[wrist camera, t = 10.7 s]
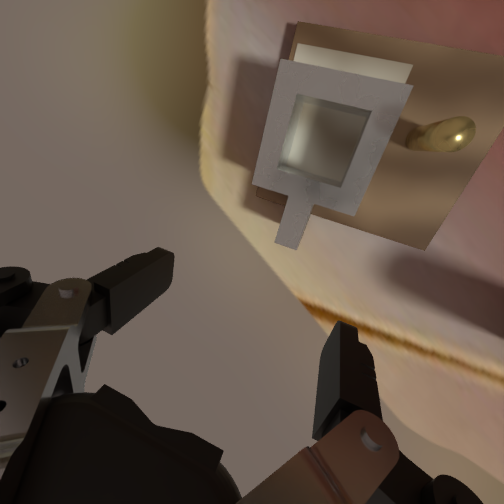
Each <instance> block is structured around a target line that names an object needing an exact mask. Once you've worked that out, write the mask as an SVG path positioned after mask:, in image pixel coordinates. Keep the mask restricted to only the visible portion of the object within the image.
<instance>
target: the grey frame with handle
mask: <svg viewBox="0 0 504 504" xmlns="http://www.w3.org/2000/svg"><path fill="white" fill-rule="evenodd" d="M413 86H414V85H409V84H404V83H399V82H394V81H389V80H384V79H379V78H374V77H369V76H364V75H359V74H354V73H350V72H345V71H340V70H335V69H330V68H325V67H320V66H315V65H310V64H305V63H300V62H295V61H290V60H286V59H280V63H279V68H278V72H277V76H276V81H275V85H274V89H273V94H272V98H271V102H270V107H269V111H268V115H267V120H266V124H265V128H264V133H263V137H262V142H261V146H260V150H259V155H258V159H257V163H256V168H255V172H254V176H253V181H252V184H253V185H256V186H259V187H262V188H265V189H268V190H272V191H275V192H278V193H281V194H284V195H288V196H289V197H288V200H287V203H286V206H285V210H284V213H283V216H282V219H281V223H280V226H279V229H278V232H277V236H276V239H275V243H277V244H280V245H283V246H286V247H289V248H291V249H294V250H297V248H298V246H299V243H300V241H301V239H302V236H303V233H304V231H305V228H306V225H307V222H308V220H309V217H310V214H311V211H312V209H313V206H314V204H316V205H319V206H322V207H326V208H329V209H332V210H335V211H338V212H342V213H345V214H348V215H351V216H355V214H356V212H357V210H358V207H359V205H360V203H361V201H362V199H363V196H364V194H365V192H366V190H367V187H368V185H369V183H370V181H371V179H372V176H373V174H374V172H375V170H376V168H377V165H378V163H379V161H380V159H381V157H382V154H383V152H384V150H385V148H386V146H387V143H388V141H389V139H390V137H391V134H392V132H393V130H394V128H395V126H396V123H397V121H398V119H399V117H400V115H401V112H402V110H403V108H404V106H405V104H406V101H407V99H408V97H409V95H410V92H411V90H412V88H413ZM304 103H308V104H312V105H316V106H321V107H325V108H329V109H333V110H338V111H342V112H346V113H350V114H355V115H359V116H363V117H367V118H366V120H365V123H364V125H363V128H362V130H361V133H360V135H359V138H358V140H357V143H356V145H355V148H354V150H353V153H352V155H351V158H350V160H349V163H348V165H347V168H346V170H345V173H344V175H343V178H342V180H341V182H340V181H336V180H333V179H329V178H326V177H323V176H319V175H316V174H312V173H309V172H305V171H302V170H299V169H295V168H292V167H288V166H286V165H287V161H288V158H289V154H290V151H291V147H292V144H293V140H294V137H295V133H296V129H297V126H298V122H299V119H300V115H301V112H302V108H303V105H304Z"/></svg>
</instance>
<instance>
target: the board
mask: <svg viewBox="0 0 504 504" xmlns="http://www.w3.org/2000/svg"><path fill="white" fill-rule="evenodd" d="M289 60H290V61H295V62H300V63H305V64H310V65H315V66H320V67H325V68H330V69H335V70H340V71H345V72H350V73H354V74H359V75H364V76H369V77H374V78H379V79H384V80H389V81H394V82H399V83H404V84H409V85H414V86H413V88H412V90H411V92H410V95H409V97H408V99H407V101H406V104H405V106H404V108H403V110H402V112H401V115H400V117H399V119H398V121H397V123H396V126H395V128H394V130H393V132H392V134H391V137H390V139H389V141H388V143H387V146H386V148H385V150H384V152H383V154H382V157H381V159H380V161H379V163H378V165H377V168H376V170H375V172H374V174H373V176H372V179H371V181H370V183H369V185H368V187H367V190H366V192H365V194H364V196H363V199H362V201H361V203H360V205H359V207H358V210H357V212H356V214H355V216H351V215H348V214H345V213H342V212H338V211H335V210H332V209H329V208H326V207H322V206H319V205H316V204H314V206H313V209H312V211H311V214H313V215H316V216H319V217H322V218H325V219H328V220H331V221H334V222H337V223H340V224H343V225H347V226H350V227H353V228H356V229H359V230H362V231H365V232H368V233H371V234H374V235H377V236H381V237H384V238H387V239H390V240H393V241H396V242H399V243H402V244H405V245H408V246H411V247H415V248H418V249H421V250H424V251H425V249H426V248H427V246H428V245H429V243H430V242H431V240H432V238H433V237H434V235H435V234H436V232H437V231H438V229H439V228H440V226H441V224H442V223H443V221H444V220H445V218H446V217H447V215H448V213H449V212H450V210H451V209H452V207H453V206H454V204H455V202H456V201H457V199H458V198H459V196H460V195H461V193H462V192H463V190H464V188H465V187H466V185H467V184H468V182H469V181H470V179H471V177H472V176H473V174H474V173H475V171H476V170H477V168H478V166H479V165H480V163H481V162H482V160H483V159H484V157H485V156H486V154H487V152H488V151H489V149H490V148H491V146H492V145H493V143H494V141H495V140H496V138H497V137H498V135H499V134H500V132H501V130H502V129H503V127H504V56H499V55H494V54H488V53H482V52H476V51H470V50H464V49H458V48H452V47H446V46H440V45H435V44H429V43H423V42H417V41H411V40H405V39H399V38H393V37H387V36H381V35H376V34H370V33H364V32H358V31H352V30H346V29H340V28H334V27H328V26H322V25H317V24H311V23H305V22H299V21H298V23H297V27H296V31H295V35H294V39H293V44H292V48H291V52H290V56H289ZM457 116H466V117H469V118H470V119H472V120H473V121H474V123H475V125H476V133H475V136H474V138H473V140H472V141H471V142H470V143H469V144H468V145H467V146H466V147H465V148H463V149H461V150H459V151H456V152H430V151H412V150H410V149H409V148H408V147H407V146H406V137H407V135H408V134H409V132H410V131H411V130H413V129H414V128H416V127H420V126H424V125H427V124H431V123H435V122H438V121H442V120H446V119H449V118H453V117H457ZM366 118H367V117H363V116H359V115H355V114H350V113H346V112H342V111H338V110H333V109H329V108H325V107H321V106H316V105H312V104H308V103H304V105H303V108H302V112H301V115H300V119H299V122H298V126H297V129H296V133H295V137H294V140H293V144H292V147H291V151H290V154H289V158H288V161H287V165H286V166H288V167H292V168H295V169H299V170H302V171H305V172H309V173H312V174H316V175H319V176H323V177H326V178H329V179H333V180H336V181H340V182H341V180H342V178H343V175H344V173H345V170H346V168H347V165H348V163H349V160H350V158H351V155H352V153H353V150H354V148H355V145H356V143H357V140H358V138H359V135H360V133H361V130H362V128H363V125H364V123H365V120H366ZM256 196H257V197H260V198H263V199H266V200H269V201H272V202H275V203H279V204H282V205H285V206H286V203H287V200H288V197H289V196H288V195H284V194H281V193H278V192H275V191H272V190H268V189H265V188H262V187H259V186H258V188H257V192H256Z"/></svg>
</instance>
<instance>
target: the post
mask: <svg viewBox="0 0 504 504" xmlns="http://www.w3.org/2000/svg"><path fill="white" fill-rule="evenodd" d="M475 133H476V125H475V123H474V121H473V120H472V119H470V118H469V117H466V116H457V117H453V118H449V119H446V120H442V121H438V122H435V123H431V124H427V125H424V126H420V127H416V128H414V129H413V130H411V131H410V132H409V134H408V135H407V137H406V146H407V147H408V148H409V149H410V150H412V151H430V152H456V151H459V150H461V149H463V148H465V147H466V146H467V145H468V144H469V143H470V142H471V141H472V140H473V138H474V136H475Z"/></svg>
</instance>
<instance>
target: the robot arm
mask: <svg viewBox="0 0 504 504" xmlns="http://www.w3.org/2000/svg"><path fill="white" fill-rule="evenodd" d="M173 267H174V253H172V252H170V251H167V250H164V249H162V248H160V247H157V248H155V249H153V250H152V251H150V252H148V253H141V254H137V255H133V256H131V257H129V258H127V259H125V260H124V261H122V262H120V263H118V264H117V265H116V266H115V265H114V266H112V267H110V268H108V269H106V270H104V271H102V272H100V273H99V274H97V275H95V276H93V277H91V278H89V279H87V280H85V279H82V278H66V279H62V280H58V281H56V282H54V283H52V284H46V283H40V282H33V281H32V279H31V275H30V272H29V271H28V270H27V269H25V268H21V267H2V268H0V504H483V503H482V501H481V500H480V499H479V498H478V497H477V496H476V495H475V493H473V491H472V490H470V489H469V488H468V487H467V486H466V485H465V484H463V483H462V482H461V481H459V480H457V479H456V478H453V477H451V476H448V475H439V476H437V477H436V478H435V479H433V478H431V477H430V476H429V475H428V474H426V473H425V472H424V471H422V469H420V468H419V467H418V466H416V465H415V464H414V463H413V462H412V461H410V460H409V459H408V458H407V457H406V456H405V455H403V453H402V452H401V451H400V450H399V448H398V444H397V441H396V439H395V437H394V435H393V433H392V432H391V430H390V429H389V428H388V426H387V425H386V424H385V423H384V422H383V419H382V413H381V406H380V399H379V393H378V386H377V381H376V373H375V371H374V369H375V366H374V360H373V356H372V354H371V352H370V351H369V349H368V347H367V345H365V344H363V343H360V342H359V340H358V330H357V328H356V327H354V326H351V325H349V324H347V323H344V322H342V321H337V323H336V324H335V326H334V328H333V330H332V332H331V334H330V336H329V337H328V339H327V341H326V343H325V345H324V347H323V350H322V353H321V357H320V365H319V374H318V385H317V395H316V405H315V415H314V424H313V434H312V438H313V439H315V440H317V441H318V442H317V443H315V444H314V445H313V446H312V447H310V448H309V447H305V448H304V449H302V450H301V451H300V452H298V453H297V454H296V455H295V456H293V457H292V458H291V459H290V460H289V461H287V462H286V463H285V464H283V465H282V466H281V467H280V468H279V469H278V470H276V471H275V472H274V473H272V474H271V475H270V476H269V477H268V478H266V479H265V480H264V481H263V482H262V483H260V484H259V485H258V486H256V487H255V488H254V489H253V490H252V491H250V492H249V493H248V494H247V495H245V496H244V497H243V498H242V497H241V494H240V492H239V490H238V487H237V485H236V484H235V482H234V480H233V478H232V477H231V475H230V474H229V472H228V471H227V469H226V468H225V467H224V466H223V465H222V464H221V463H220V460H221V457H222V454H223V450H221V449H220V448H218V447H216V446H214V445H212V444H211V443H209V442H207V441H205V440H204V439H202V438H200V437H198V436H196V435H195V434H193V433H189V432H184V431H180V430H175V429H170V428H166V427H160V426H157V425H155V424H153V423H152V422H151V421H150V420H149V418H148V417H147V416H146V415H145V414H144V413H143V412H142V410H141V409H140V408H139V407H138V406H137V405H136V404H135V403H134V402H133V400H132V399H130V398H128V397H127V396H125V395H123V394H121V393H120V392H118V391H116V390H114V389H112V388H111V387H109V386H107V385H105V384H104V385H103V386H102V387H101V388H100V389H99V390H98V391H97V392H96V393H87V392H84V387H85V380H86V376H87V372H88V368H89V365H90V361H91V357H92V354H93V350H94V346H95V343H96V338H97V337H96V334H98V333H99V332H100V331H102V330H103V331H105V332H107V333H109V334H111V335H113V334H114V333H115V332H116V331H118V330H119V329H120V328H121V327H122V326H124V325H125V324H126V323H127V322H129V321H130V320H131V319H132V318H134V317H135V316H136V315H137V314H138V313H140V312H141V311H142V310H143V309H144V308H146V307H147V306H148V305H149V304H151V303H152V302H153V301H154V300H155V299H156V298H158V297H159V296H160V295H161V294H163V293H164V292H165V291H166V290H167V289H168V288H169V286H170V284H171V282H172V277H173Z"/></svg>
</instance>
